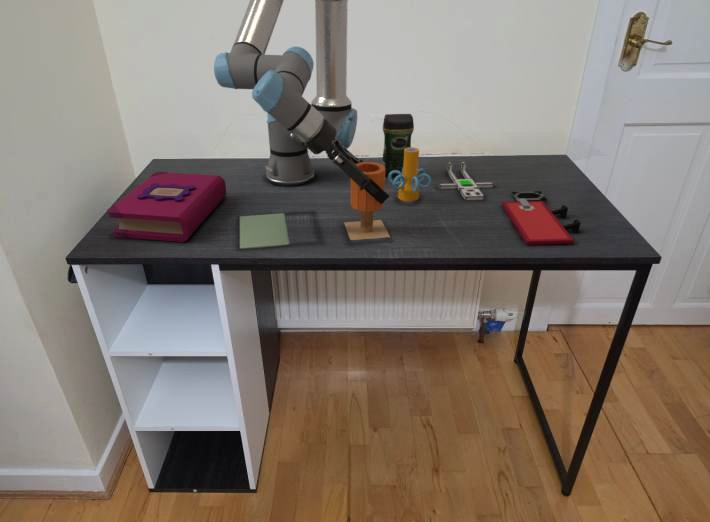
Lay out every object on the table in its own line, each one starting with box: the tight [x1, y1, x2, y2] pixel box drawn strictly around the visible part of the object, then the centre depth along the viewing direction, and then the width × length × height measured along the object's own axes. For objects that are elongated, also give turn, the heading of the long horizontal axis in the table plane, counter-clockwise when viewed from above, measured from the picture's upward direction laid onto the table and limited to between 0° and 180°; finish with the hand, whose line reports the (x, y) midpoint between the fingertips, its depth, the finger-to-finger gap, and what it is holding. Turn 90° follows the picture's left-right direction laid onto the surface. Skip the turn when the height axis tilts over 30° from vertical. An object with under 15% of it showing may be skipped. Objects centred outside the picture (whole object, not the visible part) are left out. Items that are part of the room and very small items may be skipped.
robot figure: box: [438, 161, 495, 201], centre depth 158 cm, size 16×3×22 cm
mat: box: [239, 212, 290, 250], centre depth 135 cm, size 18×20×1 cm
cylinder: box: [388, 146, 432, 202], centre depth 146 cm, size 12×10×15 cm
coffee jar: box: [381, 113, 415, 177], centre depth 163 cm, size 10×8×19 cm
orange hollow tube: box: [350, 161, 386, 212], centre depth 126 cm, size 8×8×10 cm
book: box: [106, 171, 227, 243], centre depth 140 cm, size 21×28×8 cm
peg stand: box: [343, 211, 391, 241], centre depth 129 cm, size 10×10×13 cm
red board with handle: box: [501, 190, 581, 246], centre depth 139 cm, size 30×3×15 cm
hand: (380, 192), depth 127 cm, fingers closed on orange hollow tube, 8 cm apart
